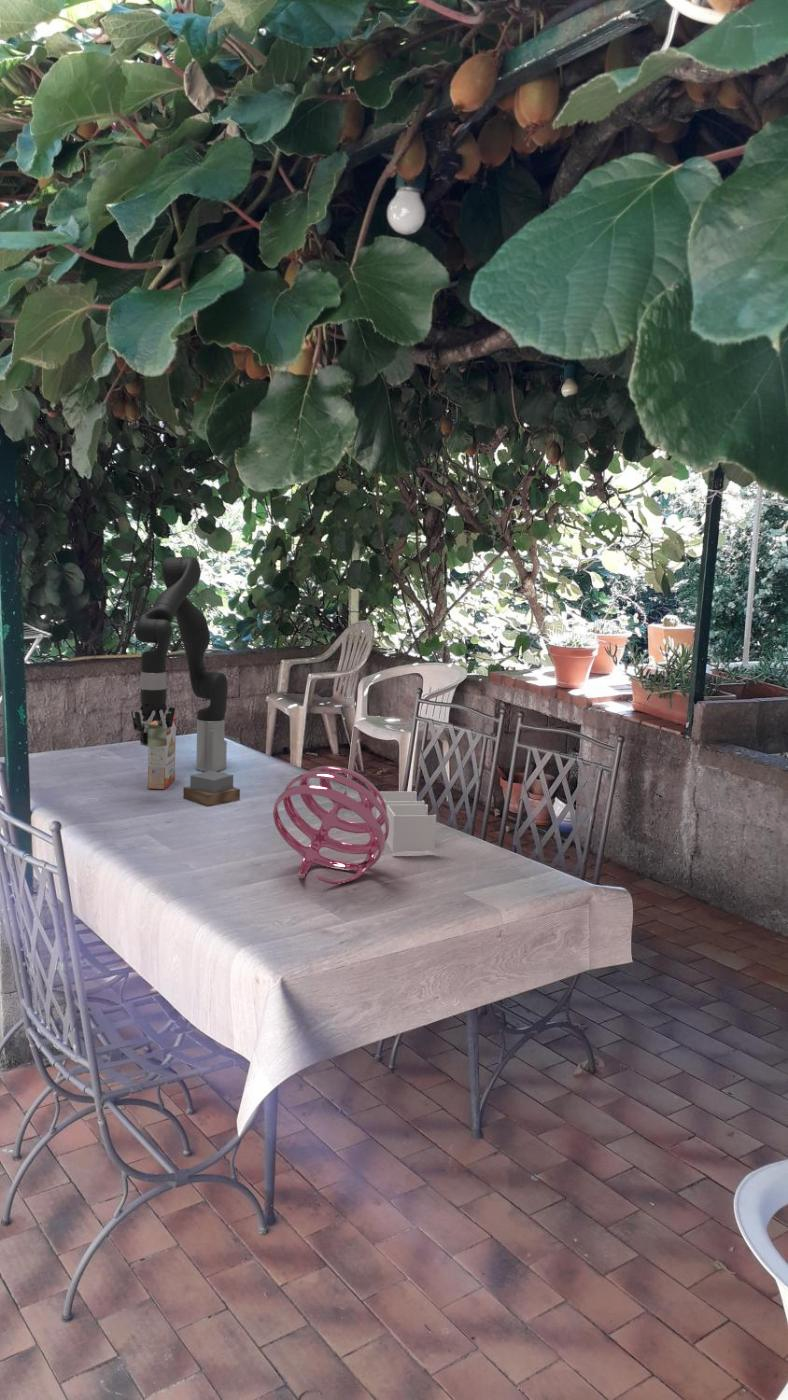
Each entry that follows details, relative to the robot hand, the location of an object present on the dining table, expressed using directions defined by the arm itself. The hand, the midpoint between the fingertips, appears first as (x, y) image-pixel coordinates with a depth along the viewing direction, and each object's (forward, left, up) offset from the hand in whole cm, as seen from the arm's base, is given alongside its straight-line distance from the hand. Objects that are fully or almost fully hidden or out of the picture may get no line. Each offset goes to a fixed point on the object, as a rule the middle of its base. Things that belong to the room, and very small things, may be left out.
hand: (153, 743), depth 308 cm
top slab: (-14, +10, -14) cm, 22 cm away
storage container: (-27, +77, -18) cm, 83 cm away
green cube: (0, 0, -1) cm, 1 cm away
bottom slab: (-14, +10, -18) cm, 25 cm away
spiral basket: (+6, +84, -18) cm, 86 cm away
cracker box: (-13, -14, -18) cm, 26 cm away
